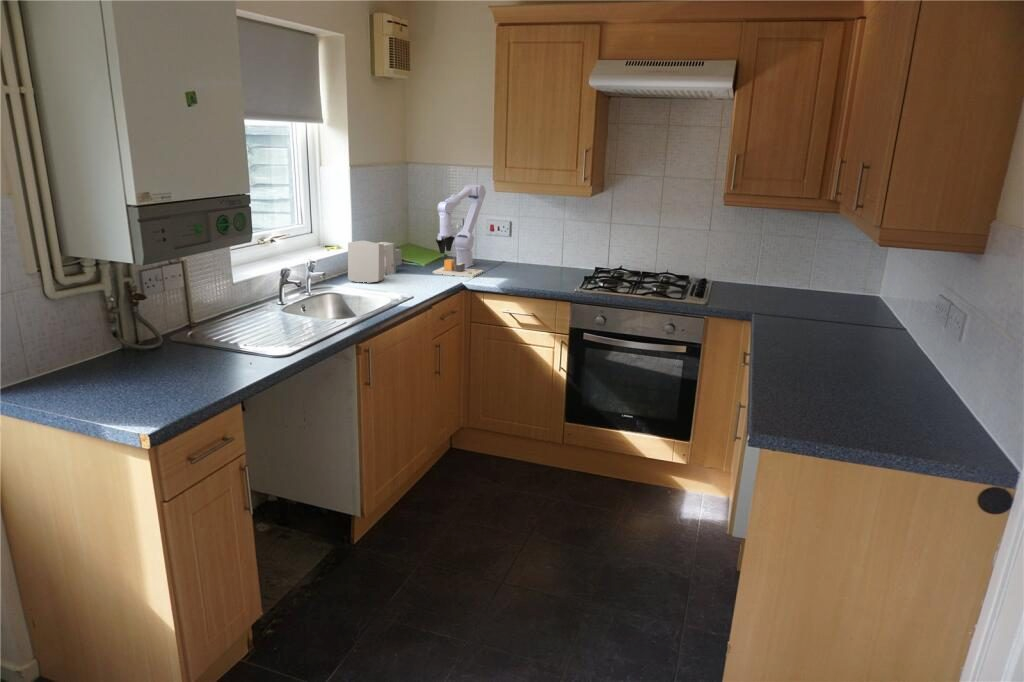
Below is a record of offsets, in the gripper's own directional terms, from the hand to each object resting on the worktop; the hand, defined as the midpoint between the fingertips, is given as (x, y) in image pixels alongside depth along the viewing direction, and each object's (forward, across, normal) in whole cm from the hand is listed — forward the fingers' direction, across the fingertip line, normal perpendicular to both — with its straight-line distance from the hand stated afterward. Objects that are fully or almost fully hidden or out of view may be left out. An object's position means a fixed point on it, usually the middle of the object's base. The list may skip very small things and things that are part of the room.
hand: (445, 252), depth 351 cm
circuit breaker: (+10, +18, -23) cm, 31 cm away
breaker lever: (+8, +4, +10) cm, 13 cm away
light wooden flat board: (+9, +4, +9) cm, 14 cm away
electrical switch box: (+10, +38, -23) cm, 45 cm away
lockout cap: (+8, +4, +4) cm, 10 cm away
